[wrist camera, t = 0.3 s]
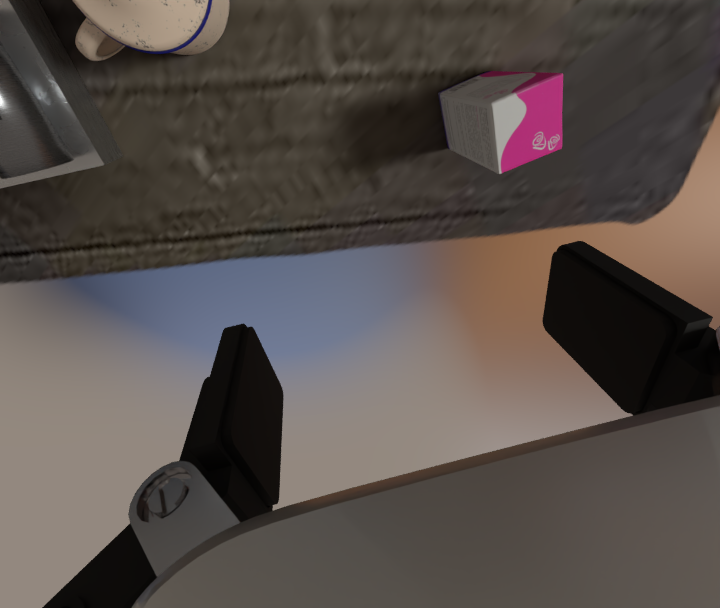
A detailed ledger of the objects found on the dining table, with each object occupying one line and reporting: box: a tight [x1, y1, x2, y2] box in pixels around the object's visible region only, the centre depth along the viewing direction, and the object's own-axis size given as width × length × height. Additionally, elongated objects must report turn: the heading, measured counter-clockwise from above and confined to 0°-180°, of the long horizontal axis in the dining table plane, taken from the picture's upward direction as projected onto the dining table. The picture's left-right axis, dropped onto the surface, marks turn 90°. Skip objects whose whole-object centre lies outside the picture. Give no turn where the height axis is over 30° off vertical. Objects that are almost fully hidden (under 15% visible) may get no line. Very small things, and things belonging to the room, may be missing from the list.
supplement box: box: [438, 71, 563, 174], centre depth 31 cm, size 6×6×12 cm
